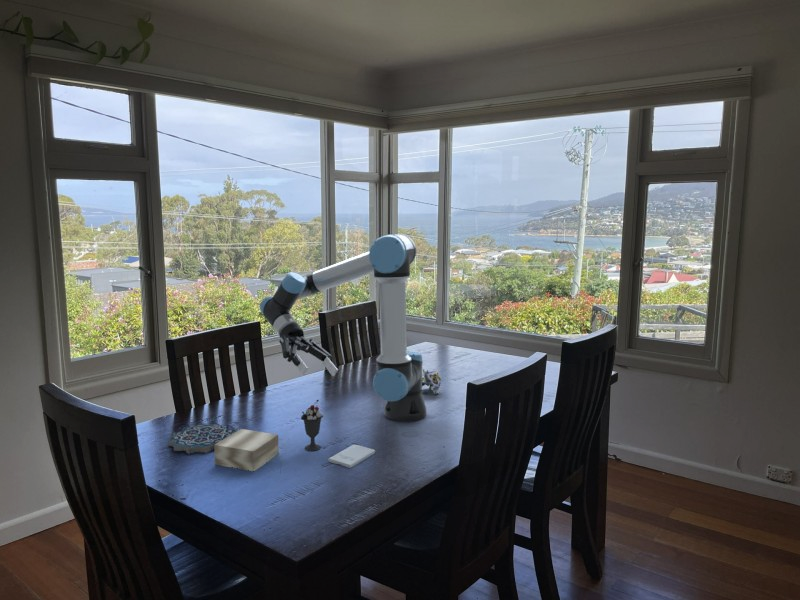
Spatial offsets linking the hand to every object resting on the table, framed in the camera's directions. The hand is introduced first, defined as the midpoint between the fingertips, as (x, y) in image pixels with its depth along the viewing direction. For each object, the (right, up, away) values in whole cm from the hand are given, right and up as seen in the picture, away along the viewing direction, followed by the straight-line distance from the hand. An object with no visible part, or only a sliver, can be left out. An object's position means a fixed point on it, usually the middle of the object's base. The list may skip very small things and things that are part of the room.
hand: (320, 372), depth 185 cm
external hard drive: (+11, -24, -13) cm, 30 cm away
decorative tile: (-37, -22, -2) cm, 43 cm away
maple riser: (-19, -24, -15) cm, 34 cm away
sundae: (-2, -23, -7) cm, 24 cm away
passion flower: (+36, -15, +48) cm, 62 cm away
